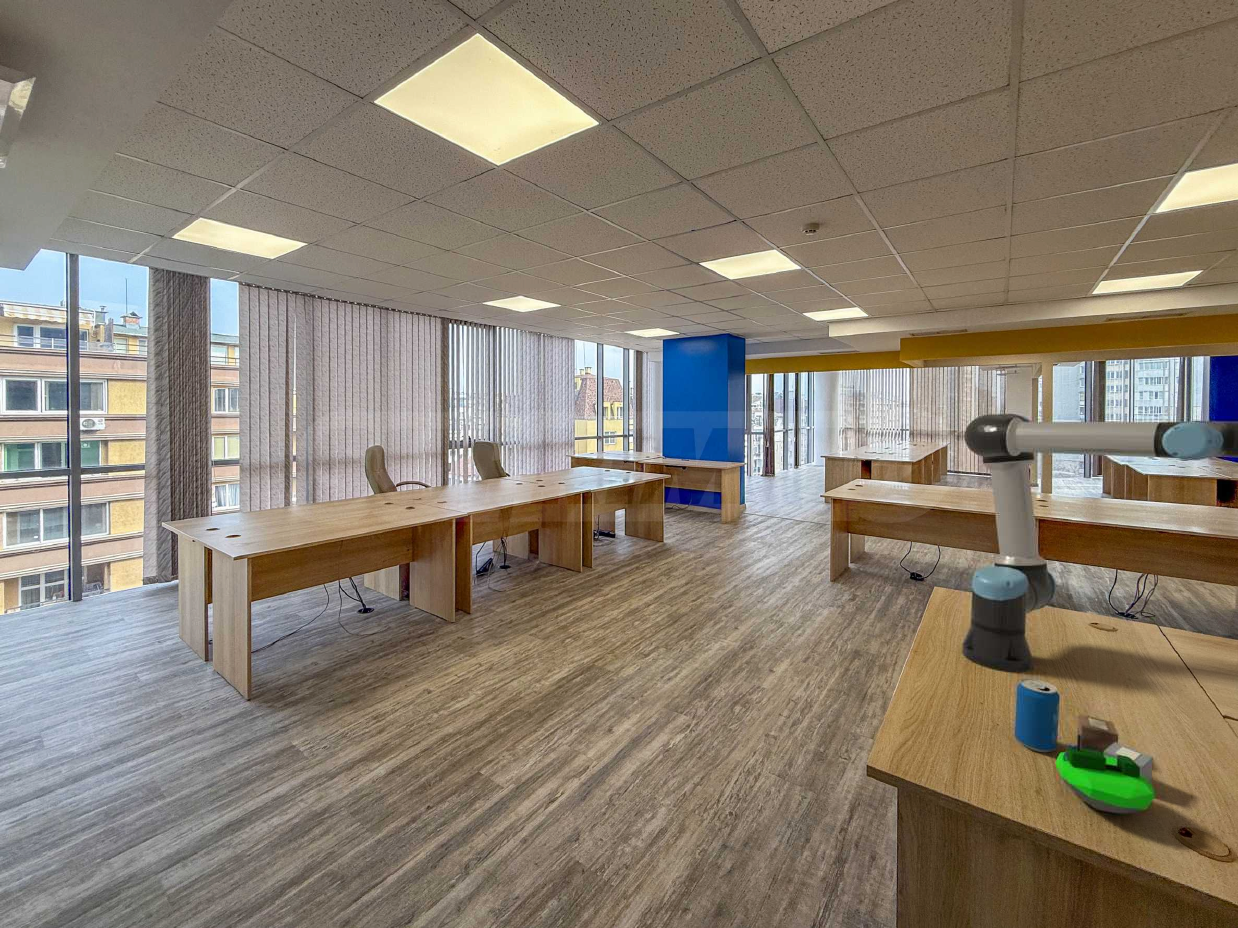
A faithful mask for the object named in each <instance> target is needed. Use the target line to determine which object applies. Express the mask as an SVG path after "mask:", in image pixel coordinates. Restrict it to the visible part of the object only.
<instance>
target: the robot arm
mask: <svg viewBox="0 0 1238 928" xmlns="http://www.w3.org/2000/svg"><path fill="white" fill-rule="evenodd" d="M963 437H964V443H965V445H966V447H967V448H968V449H969V451H971V452H972V453H973V454H976V455H977V456H980V457H982V465H983V466H984V467H986V468H987V469H989V471H990V479H991V487H992V488H991V489H992V496H993V506H994V515H995V524H996V531H997V540H998V548H999V555H998V556H997V557H996V558H995V559H994V560H993V562H994V566H985V567H981V568H979V569H977V570H975V572H974V574H973V576H972V582H971V612H970V613H971V615H970V616H971V618H970V627H969V628H968V631H967V633H966V635H965V637H964V639H963V641H962V645H961V653H962V655H963V656H964V657H965V658H966V659H968V660H970V661H971V662H973V663H976V664H978V665H980V666H982V667H986V668H990V669H994V670H998V671H1004V672H1005V671H1007V672H1026V671H1029V670H1031V669H1032V667H1033V655H1032V651H1031V648H1030V645H1029V642H1028V639H1027V637H1026V627H1027V626H1026V624H1027V614H1030V613H1031V612H1033V611H1037V610H1041V609H1043V608H1044V607H1046V606H1047V605H1049V604H1050V603H1051V602H1052V601H1053V600H1054V598H1055V597H1056V593H1057V589H1058V588H1057V586H1058V585H1057V581H1056V579H1055V577H1054V576H1053V574H1052V573H1051V572H1049V570H1048V562H1047V560H1046V559H1044V558H1043V557H1042V556H1040V554H1039V548H1038V547H1039V546H1038V539H1037V538H1038V537H1037V529H1036V521H1035V513H1034V504H1033V495H1032V487H1031V486H1032V485H1031V479H1030V470H1029V468H1030V466H1031V465H1032V464H1033V463H1034V462H1035V460H1036V459H1035V454H1036V453H1037V454H1039V453H1040V454H1041V453H1042V454H1059V455H1060V454H1065V455H1085V456H1086V455H1087V456H1089V455H1090V456H1093V455H1094V456H1113V457H1135V458H1136V457H1137V458H1138V457H1141V458H1163V459H1179V460H1181V461H1183V460H1184V461H1201V460H1205V459H1208V458H1213V457H1217V458H1220V457H1221V458H1222V457H1223V458H1238V421H1223V420H1221V421H1217V420H1214V421H1213V420H1212V421H1211V420H1210V421H1209V420H1190V421H1162V422H1161V421H1032V420H1031V419H1029V418H1027V417H1026V416H1023V415H1019V414H1016V413H998V414H993V413H991V414H989V413H988V414H983V415H980V416H978V417H976V418H974V419H972V420H971V422H969V424H968V425H967V426H966V428H965V431H964V434H963Z"/></svg>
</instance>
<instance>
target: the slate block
mask: <svg viewBox="0 0 1238 928" xmlns="http://www.w3.org/2000/svg"><path fill="white" fill-rule="evenodd" d="M1117 755H1122V756H1127V757H1129V758H1131V759H1132V760H1133V761H1134V762H1135V763H1136V764H1137V765H1138V766H1139V767H1140V774H1141V775H1142V776H1143V777H1144V778H1145V779H1146V780H1147V781H1148V782H1149V783H1150V784H1151V785H1152V774H1153V759H1154V756H1151V755H1149V754H1147V753H1144V752H1142V751H1139V750H1137V749H1134V748H1132V747H1128V746H1126V745H1124V744H1122V743H1121V744H1120V743H1119V742H1118V743H1116V742H1114V743H1113V744H1112V745H1110V746H1109V747H1108V748H1107V749H1106V750H1104V755H1103V756H1107V757H1111V758H1116V759H1117Z"/></svg>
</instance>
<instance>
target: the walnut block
mask: <svg viewBox="0 0 1238 928" xmlns="http://www.w3.org/2000/svg"><path fill="white" fill-rule="evenodd" d="M1077 720H1078V723H1077V737H1076V740H1077V739H1078V735H1081V740H1080V748H1082V749H1089V750H1095V751H1100V752H1101V753H1102V754H1103V755H1104V750H1106V749H1107V748H1108V747H1109V746H1110V745H1112V744H1113V743H1114V742H1116V743H1119V733H1118V731H1117V728H1116V726H1115V724H1114V722H1113V721H1110V720H1109V721H1108V720H1105V719H1102V718H1097V717H1092V716H1087V715H1083V714H1078V719H1077Z"/></svg>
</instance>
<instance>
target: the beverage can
mask: <svg viewBox="0 0 1238 928" xmlns="http://www.w3.org/2000/svg"><path fill="white" fill-rule="evenodd" d="M1015 699H1016V700H1015V701H1016V702H1015V703H1016V704H1015V721H1014V724H1015V725H1014V737H1015V739H1016V740H1017V741H1018V742H1019V743H1020V744H1021V745H1022V746H1023V747H1026V749H1029V750H1032V751H1035V752H1039V753H1049V752H1052V751H1055V750H1056V749H1058V734H1059V733H1058V732H1059V719H1060V718H1059V716H1060V715H1059V713H1060V700H1061V698H1060V694H1059V693H1058V688H1057V687H1056V686H1055V685H1053V684H1052V683H1050V682H1047V681H1045V680H1042V679H1037V678H1031V677H1030V678H1029V677H1025V678H1021V679H1020V681H1019V683H1018V684H1017V685H1016V698H1015Z"/></svg>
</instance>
